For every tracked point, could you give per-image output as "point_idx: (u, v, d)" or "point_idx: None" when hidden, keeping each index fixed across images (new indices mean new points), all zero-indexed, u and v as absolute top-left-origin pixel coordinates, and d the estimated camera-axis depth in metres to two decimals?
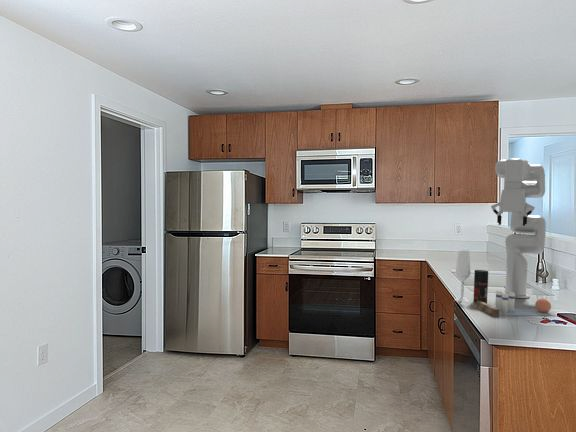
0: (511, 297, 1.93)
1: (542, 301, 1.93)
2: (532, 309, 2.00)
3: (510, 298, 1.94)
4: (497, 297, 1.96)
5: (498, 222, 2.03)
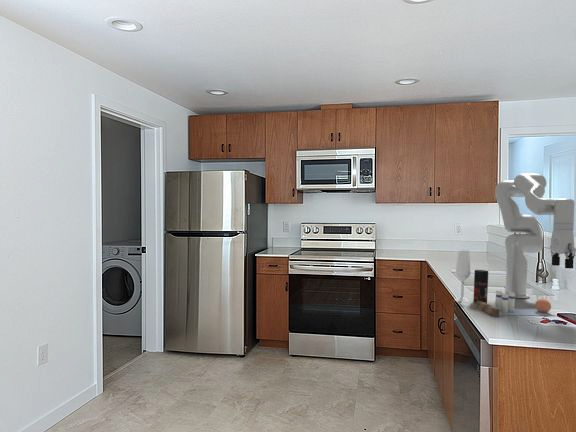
0: (511, 297, 1.93)
1: (542, 301, 1.93)
2: (532, 309, 2.00)
3: (510, 298, 1.94)
4: (497, 297, 1.96)
5: None
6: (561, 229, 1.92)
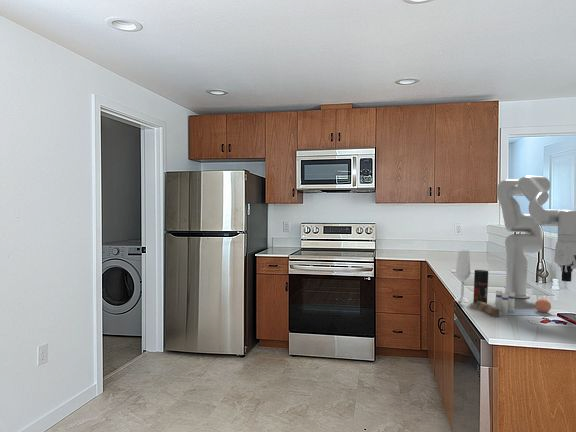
0: (511, 297, 1.93)
1: (542, 301, 1.93)
2: (532, 309, 2.00)
3: (510, 298, 1.94)
4: (497, 297, 1.96)
5: None
6: (566, 241, 1.91)
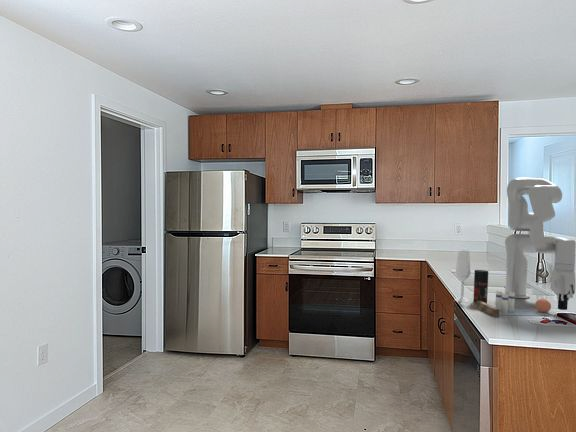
0: (511, 297, 1.93)
1: (542, 301, 1.93)
2: (532, 309, 2.00)
3: (510, 298, 1.94)
4: (497, 297, 1.96)
5: (565, 307, 1.95)
6: (563, 270, 1.92)
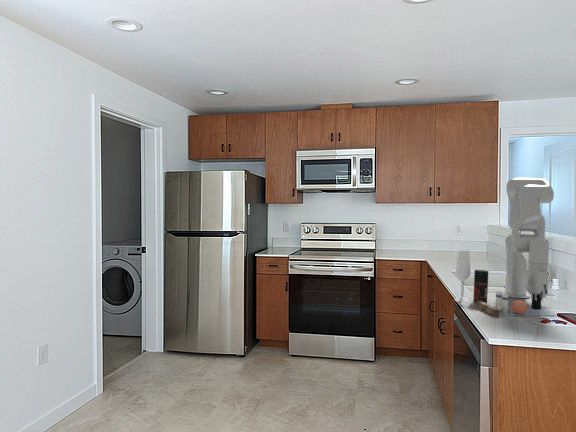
0: None
1: None
2: (532, 309, 2.00)
3: None
4: (497, 297, 1.96)
5: None
6: (536, 269, 1.91)
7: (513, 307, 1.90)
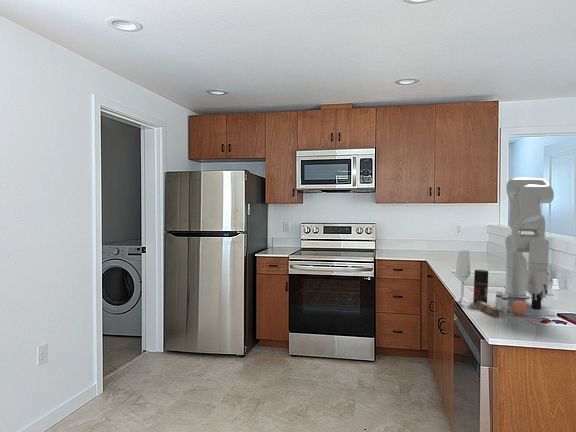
0: None
1: None
2: (532, 309, 2.00)
3: None
4: (497, 297, 1.96)
5: None
6: (536, 269, 1.91)
7: (513, 309, 1.90)
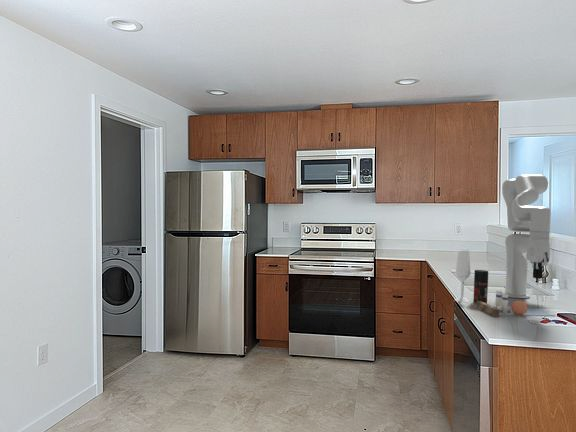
0: None
1: None
2: (532, 309, 2.00)
3: None
4: (497, 297, 1.96)
5: None
6: (537, 238, 1.91)
7: (513, 309, 1.90)
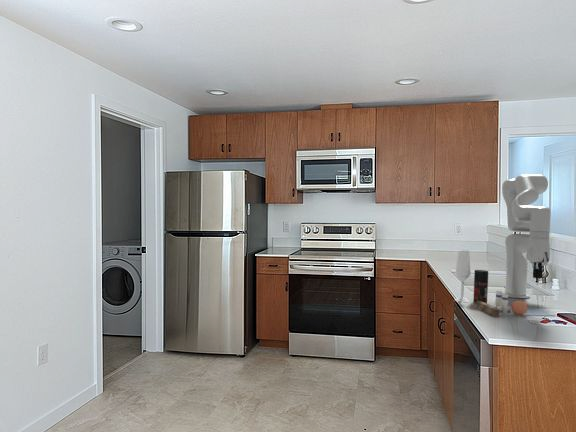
0: None
1: None
2: (532, 309, 2.00)
3: None
4: (497, 297, 1.96)
5: None
6: (537, 238, 1.91)
7: (513, 309, 1.90)
